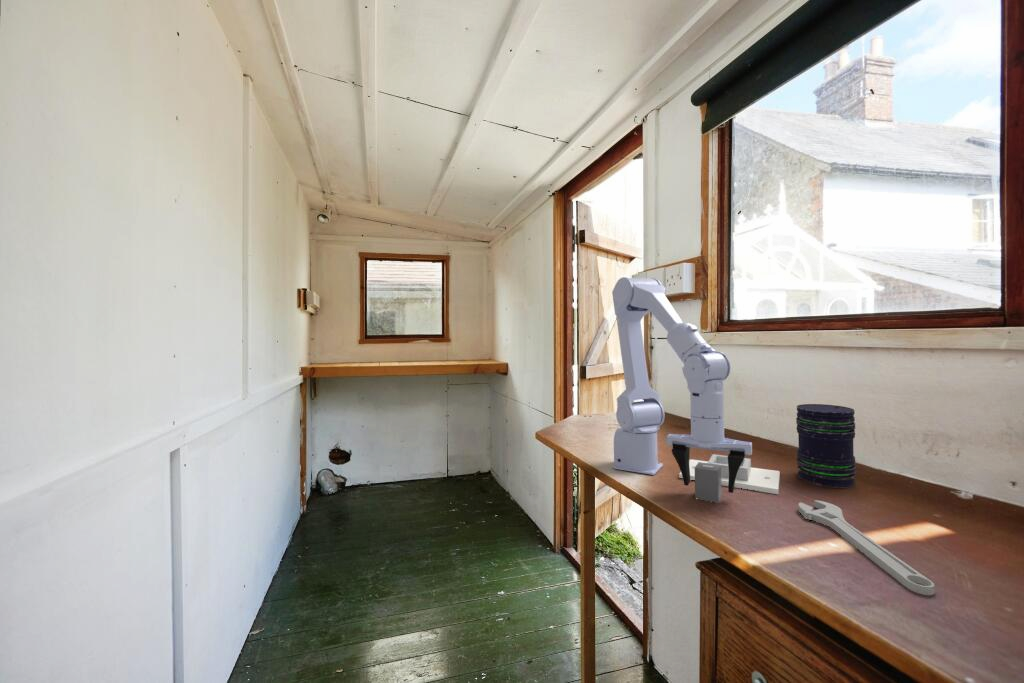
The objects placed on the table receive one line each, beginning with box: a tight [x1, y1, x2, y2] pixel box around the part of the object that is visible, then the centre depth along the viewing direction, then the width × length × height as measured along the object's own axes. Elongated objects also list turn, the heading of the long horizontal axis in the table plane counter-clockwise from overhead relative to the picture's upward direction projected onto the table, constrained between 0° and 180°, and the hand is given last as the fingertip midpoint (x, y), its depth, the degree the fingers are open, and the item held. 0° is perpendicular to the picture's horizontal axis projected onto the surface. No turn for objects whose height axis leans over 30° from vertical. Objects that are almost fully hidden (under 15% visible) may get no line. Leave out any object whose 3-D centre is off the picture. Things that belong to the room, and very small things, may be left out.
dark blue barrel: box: [795, 403, 857, 489], centre depth 88 cm, size 10×10×15 cm
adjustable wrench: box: [798, 499, 935, 596], centre depth 62 cm, size 25×6×2 cm, turn 167°
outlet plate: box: [678, 453, 781, 495], centre depth 90 cm, size 18×12×4 cm, turn 56°
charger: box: [694, 462, 723, 504], centre depth 80 cm, size 4×4×6 cm
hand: (708, 487), depth 80 cm, fingers open, 7 cm apart
